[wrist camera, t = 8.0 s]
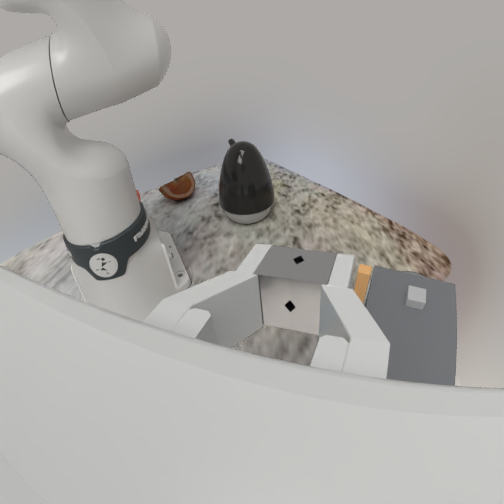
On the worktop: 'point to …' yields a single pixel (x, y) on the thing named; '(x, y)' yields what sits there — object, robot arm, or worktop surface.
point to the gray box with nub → (416, 325)
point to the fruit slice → (179, 187)
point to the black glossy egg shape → (245, 184)
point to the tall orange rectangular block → (362, 281)
